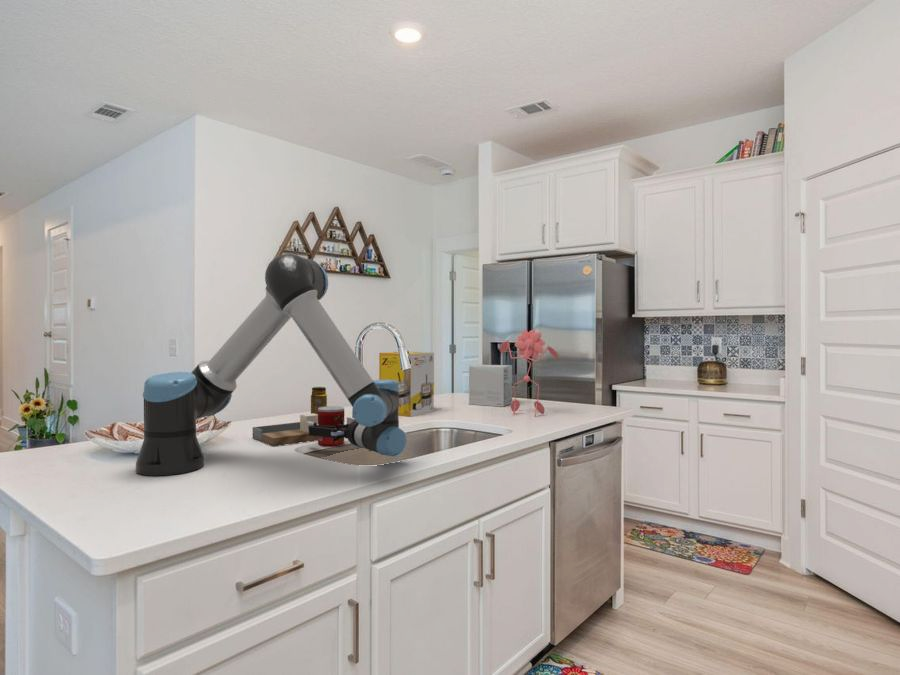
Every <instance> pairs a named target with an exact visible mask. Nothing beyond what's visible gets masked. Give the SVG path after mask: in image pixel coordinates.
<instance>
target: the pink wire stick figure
mask: <svg viewBox="0 0 900 675" xmlns="http://www.w3.org/2000/svg"><path fill="white" fill-rule="evenodd" d="M541 337H542V333H541V332H540V331H539V332H536V330H535V329H531V330H529V331H528V330H527V329H523V330H522V332H521V334H518V335H517V341H516V342H514V346H515V347H516V349H518V351H517V354H518V355H519V356H516V357H515V356H514V357H513V356H512V352H511V346H510V345H511V344H510V340H505V341H503V342H502V343H501V344H500V346H499V352H500V354H503V353H505V352H507V351H508V352H509V355H510V359H511V360H512V359H513V360H515V359H525V360H526V361H527V362H528V364H529V365H528V369H527V370H528V371H527V373H526V375H524V376H523V379H521V380H520V381H518V382H516V383H514V384H512V389H513V395H514V396H513V397H514V400H512V403H511V404H510V409H511V412H512V415H513V416H514V415H515V414H516V412H517V411H518V412H523V410H521V409H519V408H520V406H521V405H520V400H518V399H517V398H516V392H515V386H516V385H517V384H520V383H522V382H523V381H524V382H526V383H529V382H532V383H534V384H535V385H536V386H538V388H537V399H536V400H535V401H534V402H533V405H534V408H535V409H534V417H535V418H536V416H537V412H539V413H540V414H541V415H544V414H545V407H544V404H542V403H541V402H540V401H539V396H540V385H539V384H538V383H536V381H535V382H534V380H532V379H531V376H529V372H530V369H531V366H532V363H531V361H533V362H536V363H538V362H539V361H540V359H541V358H542V357H543V356H544V354H545V353H546V351H548V352H549V354H550V355H552V357H554V358H555V359H557V360H560V355H559V353H558V352H557V351H556V350H555V349H554V348H553V347H552V346H550V345H547V347H546V348H545V349H544V347H543V346H544V345H545V344H546V341H544V340H543V339H542V338H541ZM539 354H540V356H539ZM520 355H521V356H520ZM538 356H539V357H538ZM531 357H532V358H531ZM535 359H536V360H535Z"/></svg>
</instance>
